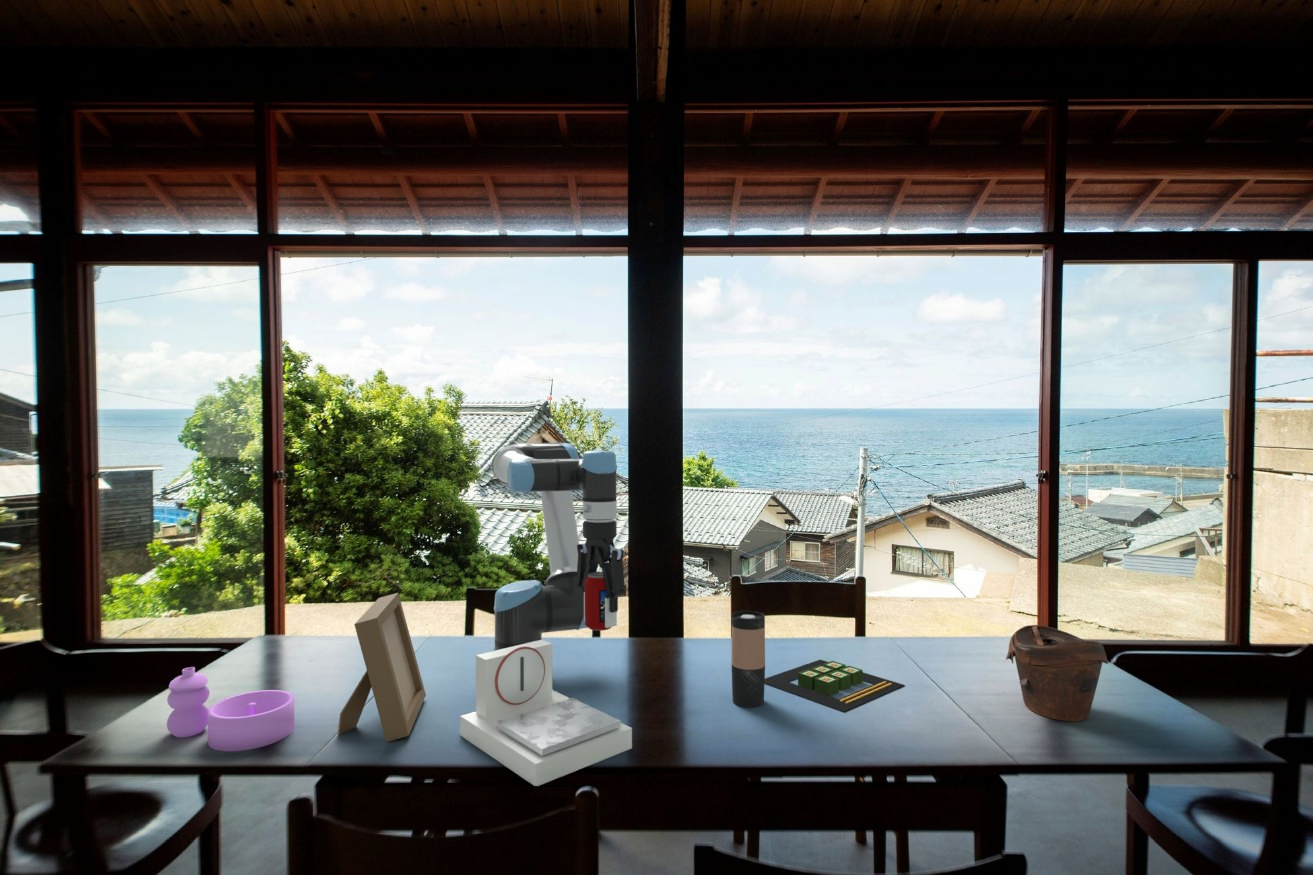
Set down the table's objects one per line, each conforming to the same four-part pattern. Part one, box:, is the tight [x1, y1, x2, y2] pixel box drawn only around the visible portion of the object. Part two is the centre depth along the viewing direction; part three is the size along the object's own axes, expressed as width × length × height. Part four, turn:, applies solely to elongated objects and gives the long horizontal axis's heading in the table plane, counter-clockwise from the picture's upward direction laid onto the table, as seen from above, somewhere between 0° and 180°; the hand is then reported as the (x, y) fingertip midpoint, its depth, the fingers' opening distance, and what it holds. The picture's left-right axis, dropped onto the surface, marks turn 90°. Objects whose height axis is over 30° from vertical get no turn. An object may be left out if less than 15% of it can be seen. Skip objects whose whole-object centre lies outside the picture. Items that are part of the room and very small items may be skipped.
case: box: [1005, 624, 1109, 722], centre depth 157 cm, size 18×20×18 cm
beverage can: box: [585, 571, 613, 632], centre depth 157 cm, size 7×7×12 cm
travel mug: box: [731, 610, 766, 709], centre depth 161 cm, size 8×8×20 cm
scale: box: [459, 639, 633, 787], centre depth 141 cm, size 28×22×17 cm
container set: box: [166, 666, 295, 752], centre depth 145 cm, size 25×15×13 cm, turn 86°
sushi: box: [765, 659, 906, 714], centre depth 173 cm, size 25×25×4 cm
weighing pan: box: [496, 697, 622, 756], centre depth 137 cm, size 16×18×1 cm
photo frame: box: [337, 592, 427, 743], centre depth 151 cm, size 15×22×25 cm
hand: (600, 622), depth 157 cm, fingers closed on beverage can, 7 cm apart
